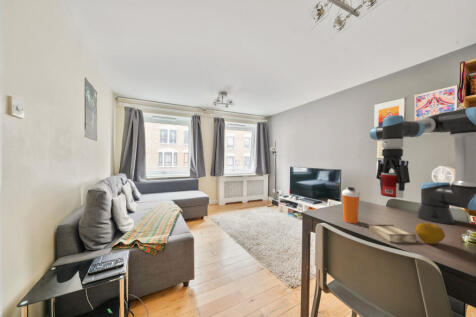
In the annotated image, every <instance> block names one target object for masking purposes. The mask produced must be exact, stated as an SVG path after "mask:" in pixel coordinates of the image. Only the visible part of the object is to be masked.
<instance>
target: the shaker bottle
mask: <svg viewBox="0 0 476 317" xmlns="http://www.w3.org/2000/svg"><path fill="white" fill-rule="evenodd" d="M341 195H342V214H343V222H345V223H347V224H354V225H355V224H356V225H357V224H358V223H359V209H360V208H359V206H360V197H361V193H360V192H359V191H358V190H356V187H352V186H346V188H345V189H343V190H342V192H341Z"/></svg>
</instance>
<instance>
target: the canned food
mask: <svg viewBox="0 0 476 317" xmlns="http://www.w3.org/2000/svg"><path fill="white" fill-rule="evenodd" d="M401 181H402V180H401ZM397 182H398V181H397V178H396V174H395V172H389V173H381V187H380V195H381V196H383V197H388V198H394V199H395V198H396V199H397V197H396V183H397Z"/></svg>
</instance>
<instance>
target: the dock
mask: <svg viewBox="0 0 476 317" xmlns="http://www.w3.org/2000/svg"><path fill="white" fill-rule="evenodd" d="M368 225H369V227H368V231H369V232H370V233H372V234H374V235H376V236H378V237H379V238H381V239H383V240H385V241H387V242H388V243H417V234H415V233H411V232H409V231H407V230H404V229H402V228H400V227H397V226H395V225H394V224H368Z"/></svg>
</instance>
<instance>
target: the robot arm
mask: <svg viewBox="0 0 476 317" xmlns="http://www.w3.org/2000/svg"><path fill="white" fill-rule="evenodd" d="M404 118H405V117H404V116H403V115H399V114H398V115H390V116H389V115H388V116H386V117H384V118H383V119H382V125H381V126H375V127H373V128H371V129H370V131H369V137H370V138H371V139H372V140H374V141H381V140H382V145H381V148H382V149H381V156H382V157H383V159H378V160H377V165H378V166H377V171H376V180H379V186H380V188H381V173H390V171H391V170H393V173H395V174H396V178H397V181H398V182H397V183H396V197H397V198H398V199H403V198H404V192H405V186H406V184H410V182H411V181H410V172H409V160H403V159H402V157H403V156H404V149H403V148H404V138H418V137H420V136H422V135H424V134H436V133H438V134H439V133H449V135H450V136H451V137H452V138H454V172H455V173H454V175H455V180H454V181H452V182H451V183H450V182H446V181H445V182H442V181H441V182H439V181H436V182H435V181H433V182H432V181H430V182H429V181H426V182H425V181H424V182H422V183H421V188H420V195H421V197H420V206H419V208H418V210H417V212H416V216H417V218H419V219H422V220H424V221H428V222H433V223H439V224H445V225H447V224H448V225H449V224H451V225H452V224H455V219H454V217H453V214H452V211H451V209H450V206H451V207H456V208H459V209H460V208H462V209H465V210H466V209H467V210H469V211H476V106H472V107H467V108H460V109H456V110H450V111H446V112H440V113H436V114H433V115H430V116H424V117H421V118H419V119H418V120H411V121H408V120H405V119H404ZM401 180H402V181H401ZM397 198H396V199H397Z"/></svg>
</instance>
